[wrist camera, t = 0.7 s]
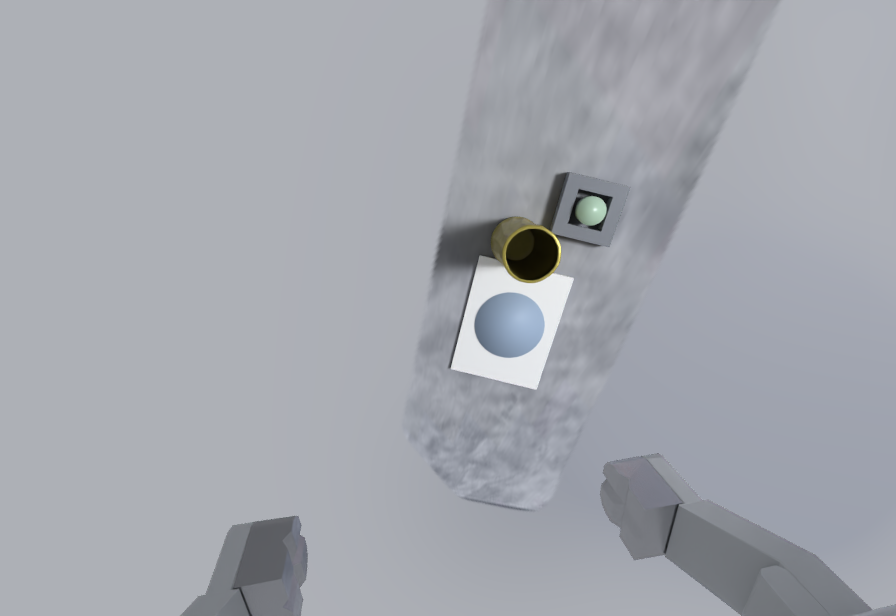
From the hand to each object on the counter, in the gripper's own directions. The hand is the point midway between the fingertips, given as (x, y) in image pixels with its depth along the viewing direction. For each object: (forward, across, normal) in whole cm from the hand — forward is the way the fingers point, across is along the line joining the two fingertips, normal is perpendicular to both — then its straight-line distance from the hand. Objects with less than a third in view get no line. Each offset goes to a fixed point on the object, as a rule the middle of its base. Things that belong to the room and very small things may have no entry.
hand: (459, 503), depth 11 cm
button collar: (+38, -23, +1) cm, 44 cm away
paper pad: (+39, -14, +15) cm, 44 cm away
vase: (+40, -15, +5) cm, 43 cm away
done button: (+37, -23, +1) cm, 44 cm away
